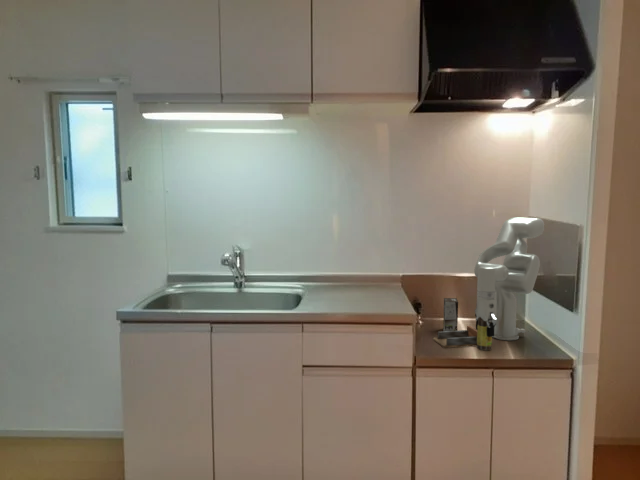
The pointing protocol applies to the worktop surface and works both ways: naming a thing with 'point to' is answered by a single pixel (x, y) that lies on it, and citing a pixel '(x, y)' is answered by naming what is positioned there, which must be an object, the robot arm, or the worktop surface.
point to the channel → (457, 338)
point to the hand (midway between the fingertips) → (484, 332)
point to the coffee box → (450, 314)
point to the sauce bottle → (483, 335)
